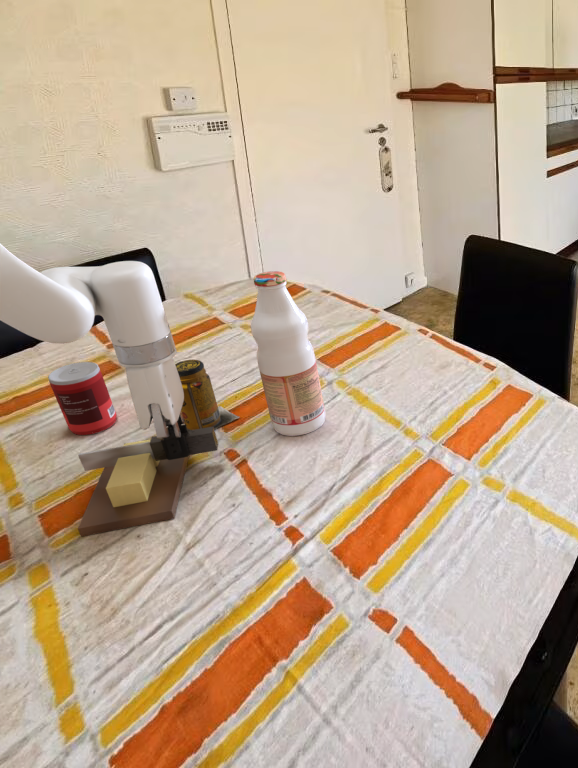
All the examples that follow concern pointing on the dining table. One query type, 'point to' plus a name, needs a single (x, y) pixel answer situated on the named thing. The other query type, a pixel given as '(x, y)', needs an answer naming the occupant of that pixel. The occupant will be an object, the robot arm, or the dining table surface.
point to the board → (155, 509)
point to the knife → (150, 449)
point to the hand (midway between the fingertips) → (179, 452)
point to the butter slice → (139, 443)
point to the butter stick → (131, 480)
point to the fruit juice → (286, 358)
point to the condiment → (200, 398)
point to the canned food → (83, 397)
